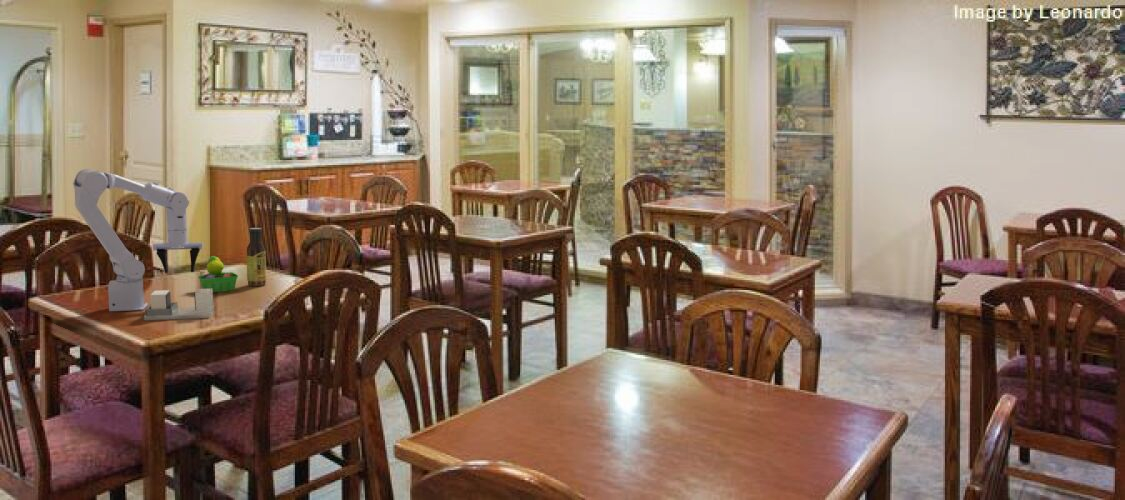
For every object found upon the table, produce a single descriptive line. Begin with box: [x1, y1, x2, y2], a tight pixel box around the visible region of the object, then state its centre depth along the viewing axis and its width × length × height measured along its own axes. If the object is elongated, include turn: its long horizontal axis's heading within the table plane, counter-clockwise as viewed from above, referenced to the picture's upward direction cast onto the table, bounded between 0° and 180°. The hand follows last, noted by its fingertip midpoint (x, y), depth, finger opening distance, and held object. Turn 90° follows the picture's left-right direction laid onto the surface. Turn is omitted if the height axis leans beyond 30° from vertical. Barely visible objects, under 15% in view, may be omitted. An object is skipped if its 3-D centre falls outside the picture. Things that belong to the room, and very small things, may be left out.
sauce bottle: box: [246, 227, 267, 287], centre depth 314 cm, size 7×6×20 cm
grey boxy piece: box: [143, 288, 216, 321], centre depth 271 cm, size 18×10×7 cm, turn 103°
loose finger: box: [150, 289, 172, 309], centre depth 269 cm, size 4×6×6 cm
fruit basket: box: [197, 255, 239, 293], centre depth 306 cm, size 11×9×11 cm
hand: (179, 272), depth 288 cm, fingers open, 7 cm apart
